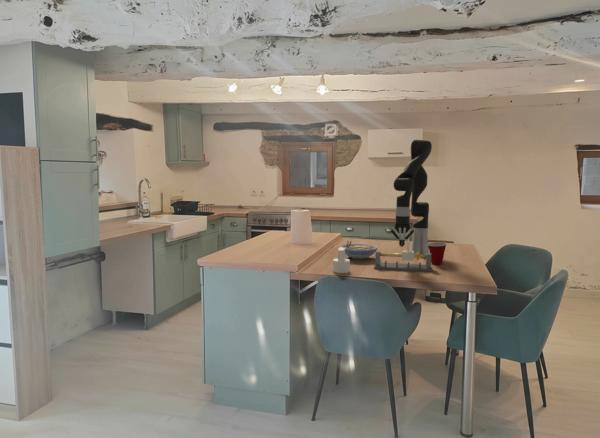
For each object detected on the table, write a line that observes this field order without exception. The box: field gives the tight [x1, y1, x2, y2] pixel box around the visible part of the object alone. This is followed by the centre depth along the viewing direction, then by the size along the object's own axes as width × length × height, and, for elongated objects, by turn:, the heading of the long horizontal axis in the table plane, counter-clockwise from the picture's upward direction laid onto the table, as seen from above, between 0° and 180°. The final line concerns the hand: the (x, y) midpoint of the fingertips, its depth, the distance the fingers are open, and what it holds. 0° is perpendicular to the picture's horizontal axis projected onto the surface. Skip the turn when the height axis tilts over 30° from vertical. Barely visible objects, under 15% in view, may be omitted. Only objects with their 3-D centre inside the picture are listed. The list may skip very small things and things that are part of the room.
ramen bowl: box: [339, 241, 379, 260], centre depth 270 cm, size 25×23×8 cm
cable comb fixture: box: [373, 250, 433, 273], centre depth 244 cm, size 30×12×9 cm, turn 77°
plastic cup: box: [427, 241, 448, 266], centre depth 255 cm, size 11×11×12 cm
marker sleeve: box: [401, 237, 415, 262], centre depth 243 cm, size 6×5×12 cm
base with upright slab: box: [332, 246, 351, 274], centre depth 237 cm, size 9×9×12 cm
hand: (401, 246), depth 244 cm, fingers closed
